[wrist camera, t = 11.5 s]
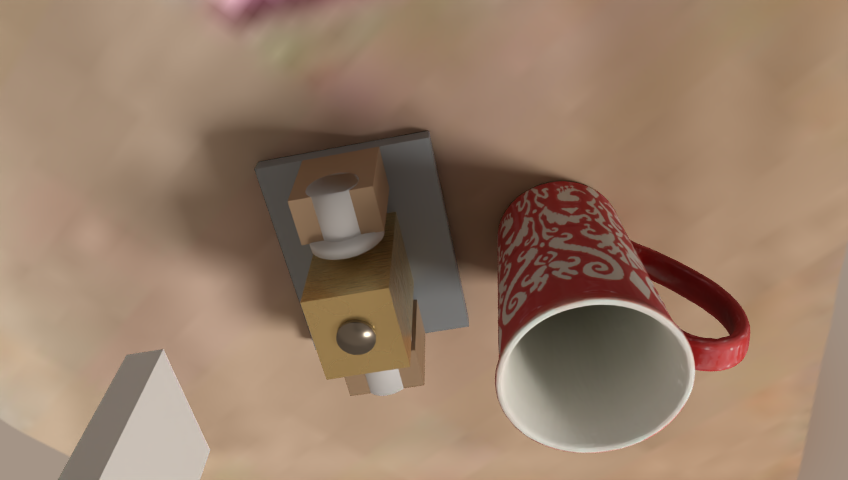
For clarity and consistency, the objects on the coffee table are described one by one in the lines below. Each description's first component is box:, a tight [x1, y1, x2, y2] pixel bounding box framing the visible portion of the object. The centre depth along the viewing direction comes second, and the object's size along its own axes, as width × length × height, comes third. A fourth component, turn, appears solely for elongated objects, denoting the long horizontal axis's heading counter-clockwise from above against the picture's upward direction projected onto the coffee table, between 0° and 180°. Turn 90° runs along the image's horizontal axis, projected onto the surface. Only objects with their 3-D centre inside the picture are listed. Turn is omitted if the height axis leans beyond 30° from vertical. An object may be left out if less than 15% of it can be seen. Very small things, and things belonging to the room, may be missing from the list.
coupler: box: [300, 212, 414, 380], centre depth 42 cm, size 5×4×8 cm
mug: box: [495, 181, 750, 453], centre depth 41 cm, size 13×9×14 cm
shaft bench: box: [254, 131, 469, 396], centre depth 44 cm, size 13×10×7 cm
